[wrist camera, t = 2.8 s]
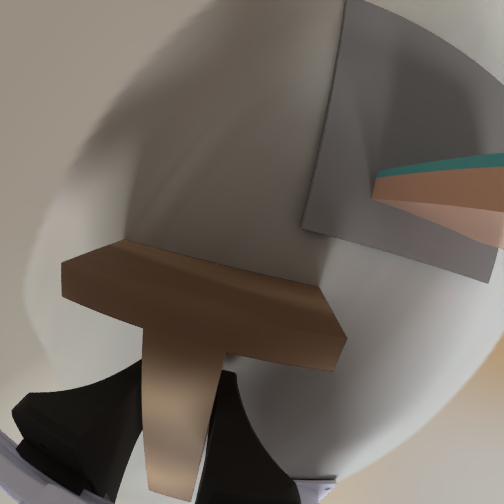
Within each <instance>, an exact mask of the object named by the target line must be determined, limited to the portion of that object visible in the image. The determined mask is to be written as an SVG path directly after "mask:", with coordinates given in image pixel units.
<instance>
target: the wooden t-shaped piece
mask: <svg viewBox="0 0 504 504" xmlns="http://www.w3.org/2000/svg"><path fill="white" fill-rule="evenodd" d="M61 283H62V297H64V298H67V299H69V300H71V301H73V302H76V303H78V304H80V305H83V306H85V307H87V308H90V309H92V310H95V311H97V312H100V313H102V314H105V315H108V316H110V317H113V318H115V319H118V320H121V321H124V322H126V323H129V324H132V325H135V326H138V327H141V328H143V344H142V421H143V439H144V452H145V462H146V471H147V480H148V487H149V490H150V491H153V492H156V493H159V494H163V495H166V496H169V497H173V498H176V499H180V500H184V501H188V502H191V499H192V495H193V491H194V487H195V483H196V478H197V474H198V470H199V466H200V462H201V458H202V454H203V449H204V445H205V441H206V436H207V432H208V428H209V423H210V418H211V413H212V409H213V405H214V400H215V396H216V392H217V387H218V383H219V379H220V375H221V371H222V368H223V364H224V359H225V355H226V352H227V353H232V354H236V355H240V356H245V357H250V358H254V359H259V360H264V361H269V362H274V363H280V364H285V365H291V366H297V367H304V368H310V369H317V370H324V371H332V372H333V369H334V367H335V365H336V363H337V361H338V358H339V356H340V354H341V352H342V349H343V347H344V345H345V342H346V340H347V337H346V335H345V333H344V332H343V330H342V328H341V326H340V324H339V322H338V320H337V319H336V317H335V315H334V313H333V311H332V310H331V308H330V306H329V304H328V302H327V301H326V299H325V297H324V295H323V293H322V292H321V290H320V288H319V287H315V286H311V285H306V284H302V283H298V282H293V281H289V280H285V279H280V278H276V277H272V276H267V275H263V274H259V273H255V272H250V271H246V270H242V269H238V268H234V267H230V266H225V265H221V264H217V263H213V262H209V261H205V260H201V259H197V258H193V257H189V256H185V255H181V254H177V253H173V252H169V251H165V250H162V249H158V248H154V247H150V246H146V245H142V244H138V243H135V242H131V241H127V240H121V241H118V242H116V243H113V244H110V245H107V246H104V247H102V248H99V249H96V250H93V251H91V252H88V253H85V254H83V255H80V256H78V257H75V258H72V259H70V260H67V261H65V262H62V263H61Z"/></svg>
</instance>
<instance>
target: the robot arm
mask: <svg viewBox="0 0 504 504" xmlns="http://www.w3.org/2000/svg"><path fill="white" fill-rule="evenodd" d="M12 417H13V419H14V421H15V423H16V425H17V427H18V429H19V431H20V432H21V434H22V436H23V438H24V439H23V440H22V441H21V443H20V444H19V445H17V444H16V443H15V442H14V441H13V440H11V439H10V438H9V437H8V436H7V435H6V434H4V433H3V432H2V431H1V430H0V488H2V489H3V490H4V491H5V492H6V493H7V494H8V495H9V496H11V497H12V498H13V499H14V500H15V501H17V502H18V503H19V504H115V500H116V497H117V493H118V490H119V487H120V484H121V481H122V478H123V475H124V472H125V469H126V466H127V464H128V461H129V458H130V456H131V453H132V451H133V448H134V446H135V443H136V441H137V439H138V437H139V435H140V433H141V431H142V430H143V421H142V359H141V360H139V361H137V362H136V363H134V364H133V365H131V366H129V367H128V368H126V369H124V370H122V371H120V372H118V373H116V374H114V375H112V376H110V377H108V378H106V379H104V380H101V381H99V382H96V383H93V384H90V385H87V386H83V387H79V388H75V389H71V390H65V391H57V392H43V393H42V392H41V393H29V394H27V395H26V396H25V397H24V398H23V399H22V400H21V401H20V402H19V403H18V404H17V405H16V406H15V407H14V408H13V409H12ZM336 485H337V484H336V481H335V480H292V479H291V478H290V477H289V476H288V475H287V474H286V473H285V472H284V471H283V470H282V469H281V468H280V467H279V466H278V465H277V464H276V462H275V461H274V460H273V459H272V458H271V456H270V455H269V454H268V452H267V451H266V450H265V448H264V447H263V445H262V444H261V442H260V441H259V439H258V437H257V436H256V434H255V432H254V430H253V428H252V426H251V424H250V422H249V420H248V417H247V415H246V412H245V410H244V407H243V404H242V400H241V397H240V393H239V389H238V384H237V375H236V373H234V372H230V371H225V370H222V371H221V375H220V379H219V383H218V387H217V392H216V396H215V400H214V405H213V409H212V413H211V418H210V423H209V431H208V440H207V448H206V456H205V462H204V467H203V471H202V476H201V480H200V484H199V489H198V493H197V497H196V501H195V504H319V501H320V500H321V499H322V498H323V497H325V496H326V495H327V494H328V493H329V492H330V491H331V490H332V489H333V488H334V487H335V486H336Z"/></svg>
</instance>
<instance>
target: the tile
mask: <svg viewBox="0 0 504 504" xmlns="http://www.w3.org/2000/svg"><path fill="white" fill-rule="evenodd" d="M371 199H373V200H376V201H378V202H381V203H384V204H387V205H390V206H393V207H395V208H398V209H401V210H404V211H406V212H409V213H412V214H414V215H417V216H419V217H422V218H425V219H427V220H430V221H432V222H434V223H437V224H439V225H442V226H444V227H446V228H449V229H451V230H453V231H456V232H458V233H460V234H463V235H465V236H467V237H469V238H471V239H473V240H476V241H478V242H480V243H484V244H487V245H490V246H494V247H497V248H500V249H503V250H504V153H495V154H485V155H477V156H469V157H461V158H454V159H446V160H440V161H433V162H427V163H420V164H414V165H408V166H403V167H397V168H392V169H386V170H381V171H377V175H376V180H375V185H374V189H373V194H372V198H371Z"/></svg>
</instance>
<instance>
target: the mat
mask: <svg viewBox="0 0 504 504" xmlns="http://www.w3.org/2000/svg"><path fill="white" fill-rule="evenodd" d="M495 153H504V85H503V84H502V83H500V82H499V81H498V80H497V79H496V78H495V77H494V76H492V75H491V74H490V73H489V72H488V71H486V70H485V69H484V68H483V67H481V66H480V65H479V64H478V63H476V62H475V61H474V60H472V59H471V58H470V57H468V56H467V55H465V54H464V53H463V52H461V51H460V50H458V49H457V48H455V47H454V46H452V45H451V44H449V43H448V42H446V41H445V40H443V39H441V38H440V37H438V36H436V35H435V34H433V33H431V32H430V31H428V30H426V29H424V28H422V27H421V26H419V25H417V24H415V23H413V22H411V21H409V20H407V19H405V18H403V17H401V16H399V15H397V14H394V13H392V12H390V11H388V10H385V9H383V8H381V7H378V6H376V5H373V4H371V3H368V2H365V1H363V0H346V1H345V9H344V16H343V23H342V30H341V36H340V42H339V48H338V54H337V60H336V66H335V72H334V77H333V83H332V88H331V93H330V98H329V104H328V109H327V114H326V118H325V123H324V128H323V133H322V138H321V142H320V147H319V151H318V156H317V160H316V165H315V169H314V173H313V178H312V182H311V186H310V190H309V194H308V199H307V203H306V207H305V211H304V215H303V219H302V223H301V228H302V229H305V230H309V231H313V232H317V233H321V234H324V235H328V236H332V237H336V238H339V239H343V240H347V241H350V242H354V243H358V244H361V245H365V246H368V247H372V248H375V249H379V250H382V251H386V252H389V253H393V254H396V255H400V256H403V257H406V258H410V259H413V260H416V261H420V262H423V263H426V264H429V265H432V266H436V267H439V268H442V269H445V270H448V271H451V272H454V273H458V274H461V275H464V276H467V277H470V278H473V279H476V280H479V281H482V282H484V283H487V284H488V283H489V280H490V277H491V273H492V270H493V267H494V263H495V260H496V256H497V252H498V248H497V247H494V246H490V245H487V244H484V243H480V242H478V241H476V240H473V239H471V238H469V237H467V236H465V235H463V234H460V233H458V232H456V231H453V230H451V229H449V228H446V227H444V226H442V225H439V224H437V223H434V222H432V221H430V220H427V219H425V218H422V217H419V216H417V215H414V214H412V213H409V212H406V211H404V210H401V209H398V208H395V207H393V206H390V205H387V204H384V203H381V202H378V201H376V200H373V199H371V198H372V194H373V189H374V185H375V180H376V175H377V171H381V170H386V169H392V168H397V167H403V166H408V165H414V164H420V163H427V162H433V161H440V160H446V159H454V158H461V157H469V156H477V155H485V154H495Z"/></svg>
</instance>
